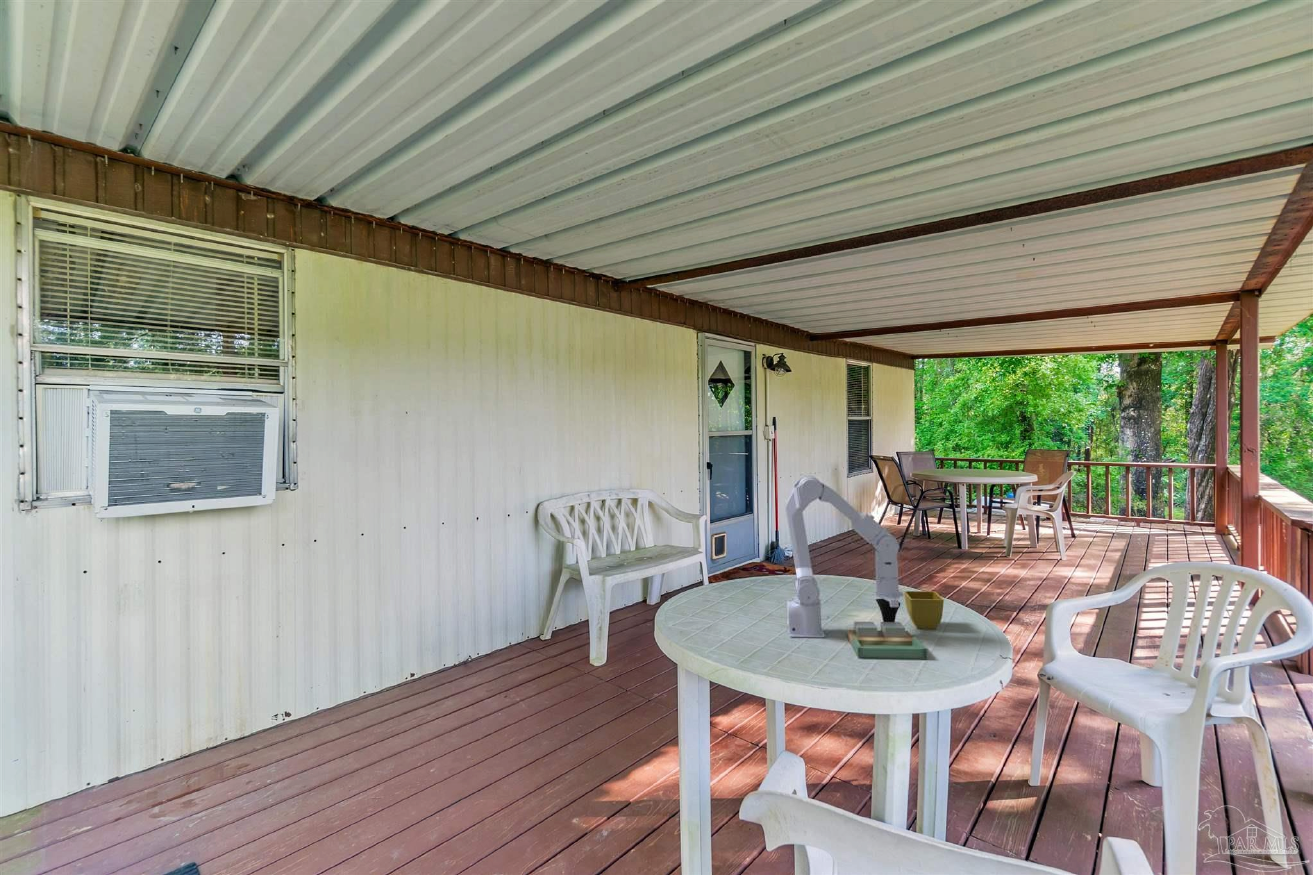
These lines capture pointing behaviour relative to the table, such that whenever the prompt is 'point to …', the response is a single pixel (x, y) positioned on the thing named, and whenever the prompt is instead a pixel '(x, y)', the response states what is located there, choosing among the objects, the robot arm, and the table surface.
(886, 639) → the board
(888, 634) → the tile right
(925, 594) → the flower pot
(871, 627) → the tile left
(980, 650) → the table surface
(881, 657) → the tray
